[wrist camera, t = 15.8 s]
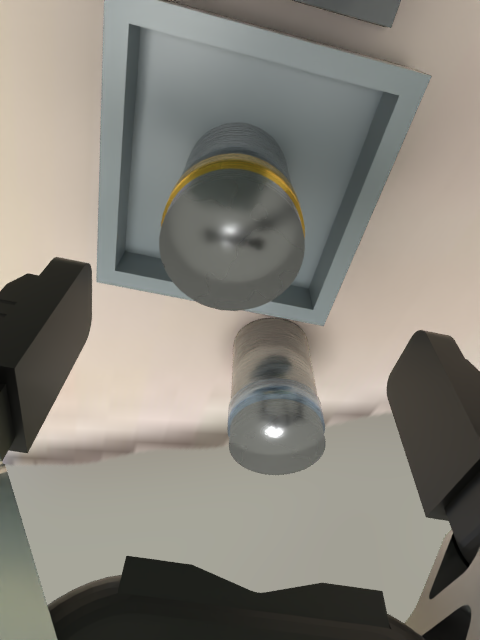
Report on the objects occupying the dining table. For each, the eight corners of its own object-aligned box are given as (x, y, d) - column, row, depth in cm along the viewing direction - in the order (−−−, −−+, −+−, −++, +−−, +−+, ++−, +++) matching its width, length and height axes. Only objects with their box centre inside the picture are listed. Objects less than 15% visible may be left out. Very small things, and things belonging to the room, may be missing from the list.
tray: (409, 67, 16) (431, 75, 14) (316, 298, 23) (323, 326, 21) (123, -12, 15) (104, -15, 13) (110, 256, 22) (96, 281, 20)
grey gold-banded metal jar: (274, 235, 20) (283, 324, 14) (177, 214, 20) (148, 298, 14) (303, 134, 17) (329, 195, 12) (192, 107, 17) (164, 157, 11)
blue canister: (320, 324, 24) (342, 422, 18) (296, 381, 27) (309, 481, 21) (241, 309, 23) (238, 405, 18) (224, 369, 26) (218, 468, 20)
